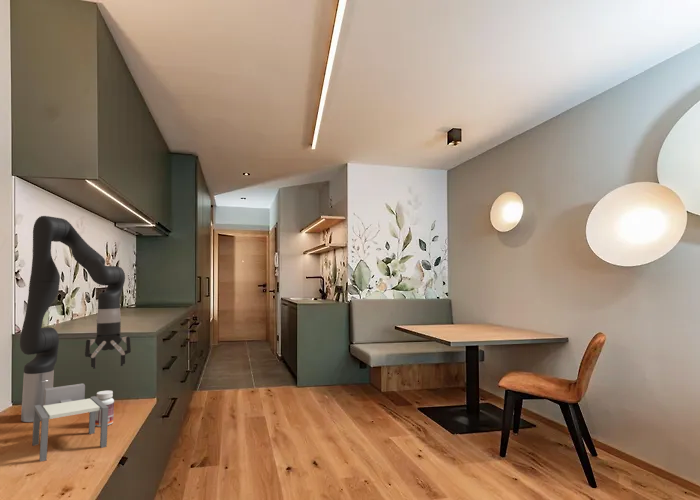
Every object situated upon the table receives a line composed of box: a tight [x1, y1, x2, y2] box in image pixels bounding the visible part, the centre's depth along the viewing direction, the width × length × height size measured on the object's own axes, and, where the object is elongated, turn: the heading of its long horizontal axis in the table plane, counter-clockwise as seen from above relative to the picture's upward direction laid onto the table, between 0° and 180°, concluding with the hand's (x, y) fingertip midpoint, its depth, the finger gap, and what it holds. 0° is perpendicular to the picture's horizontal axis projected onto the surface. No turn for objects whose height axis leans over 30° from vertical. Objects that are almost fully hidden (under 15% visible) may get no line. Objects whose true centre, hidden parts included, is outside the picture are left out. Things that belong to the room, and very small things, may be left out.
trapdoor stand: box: [31, 395, 109, 463], centre depth 136 cm, size 17×17×12 cm
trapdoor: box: [43, 383, 100, 420], centre depth 139 cm, size 19×13×5 cm
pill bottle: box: [95, 390, 115, 428], centre depth 156 cm, size 6×6×11 cm
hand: (108, 367), depth 155 cm, fingers open, 8 cm apart
